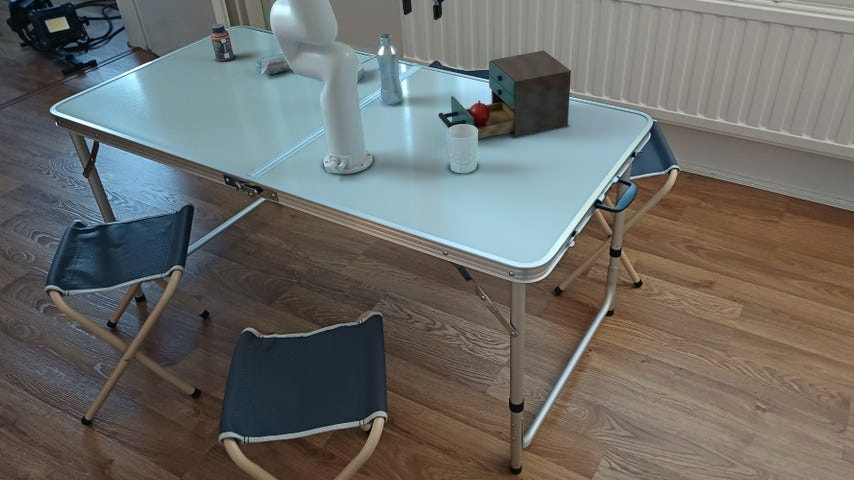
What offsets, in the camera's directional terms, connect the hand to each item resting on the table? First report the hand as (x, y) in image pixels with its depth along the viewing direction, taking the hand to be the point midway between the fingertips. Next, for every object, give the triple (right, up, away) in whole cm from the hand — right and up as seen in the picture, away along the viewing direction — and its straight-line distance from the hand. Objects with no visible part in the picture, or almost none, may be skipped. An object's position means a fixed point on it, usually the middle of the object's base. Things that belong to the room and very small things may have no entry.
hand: (422, 16), depth 198 cm
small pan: (-23, -7, +36) cm, 43 cm away
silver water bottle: (-10, -19, +18) cm, 29 cm away
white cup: (+11, -43, -14) cm, 47 cm away
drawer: (+15, -31, +2) cm, 34 cm away
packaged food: (-50, -5, +40) cm, 64 cm away
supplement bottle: (-71, +3, +51) cm, 87 cm away
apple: (+16, -29, +1) cm, 33 cm away
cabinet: (+30, -27, +6) cm, 41 cm away
